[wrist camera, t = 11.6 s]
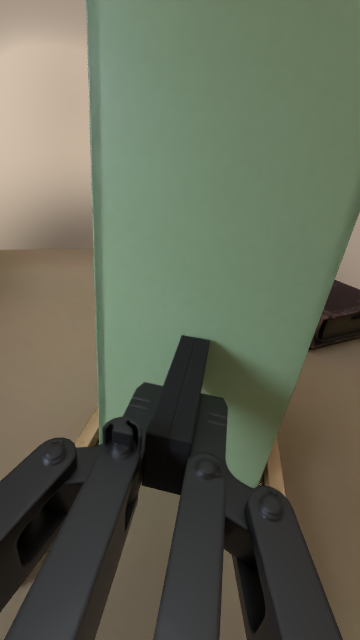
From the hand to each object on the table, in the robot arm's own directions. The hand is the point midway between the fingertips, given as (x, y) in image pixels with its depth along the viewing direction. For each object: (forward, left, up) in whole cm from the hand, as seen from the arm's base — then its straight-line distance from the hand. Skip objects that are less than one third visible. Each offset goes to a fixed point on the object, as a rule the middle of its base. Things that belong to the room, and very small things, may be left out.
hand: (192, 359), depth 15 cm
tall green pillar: (0, +6, -10) cm, 11 cm away
